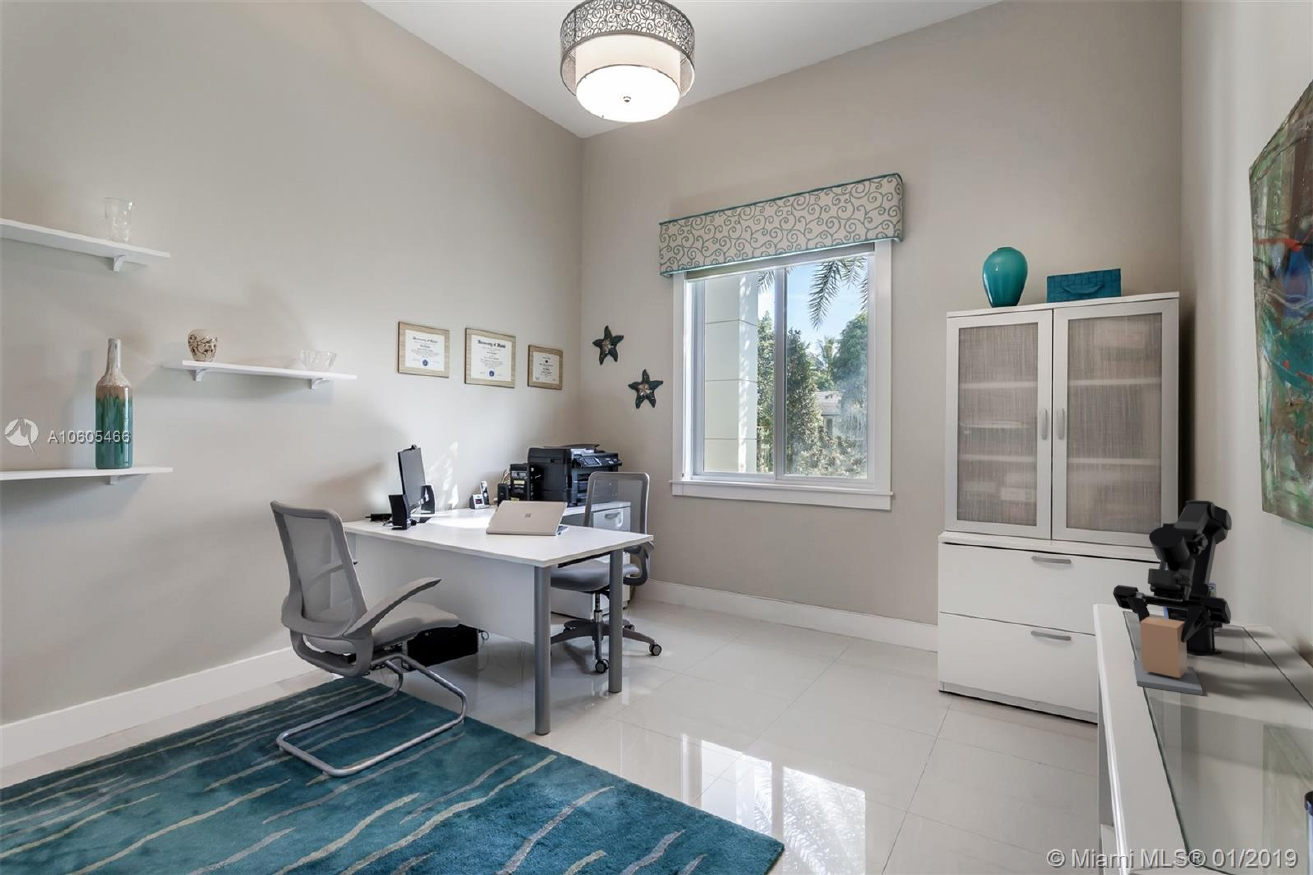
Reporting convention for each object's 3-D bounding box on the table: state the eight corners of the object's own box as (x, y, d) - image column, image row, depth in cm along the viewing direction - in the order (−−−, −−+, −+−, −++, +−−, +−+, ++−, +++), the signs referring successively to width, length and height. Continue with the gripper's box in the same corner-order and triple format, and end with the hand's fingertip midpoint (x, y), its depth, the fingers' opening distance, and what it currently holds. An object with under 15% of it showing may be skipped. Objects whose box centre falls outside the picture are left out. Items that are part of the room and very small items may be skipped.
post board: (1133, 663, 136) (1132, 645, 136) (1193, 671, 131) (1192, 652, 131) (1137, 685, 125) (1136, 665, 125) (1202, 695, 119) (1201, 674, 119)
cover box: (1151, 662, 132) (1148, 616, 132) (1187, 670, 127) (1184, 621, 127) (1142, 670, 128) (1140, 622, 128) (1179, 677, 124) (1176, 628, 124)
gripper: (1113, 549, 138) (1098, 607, 132) (1224, 558, 124) (1214, 625, 117) (1126, 577, 143) (1113, 636, 136) (1235, 590, 128) (1226, 657, 122)
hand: (1162, 638), depth 128 cm, fingers open, 6 cm apart
